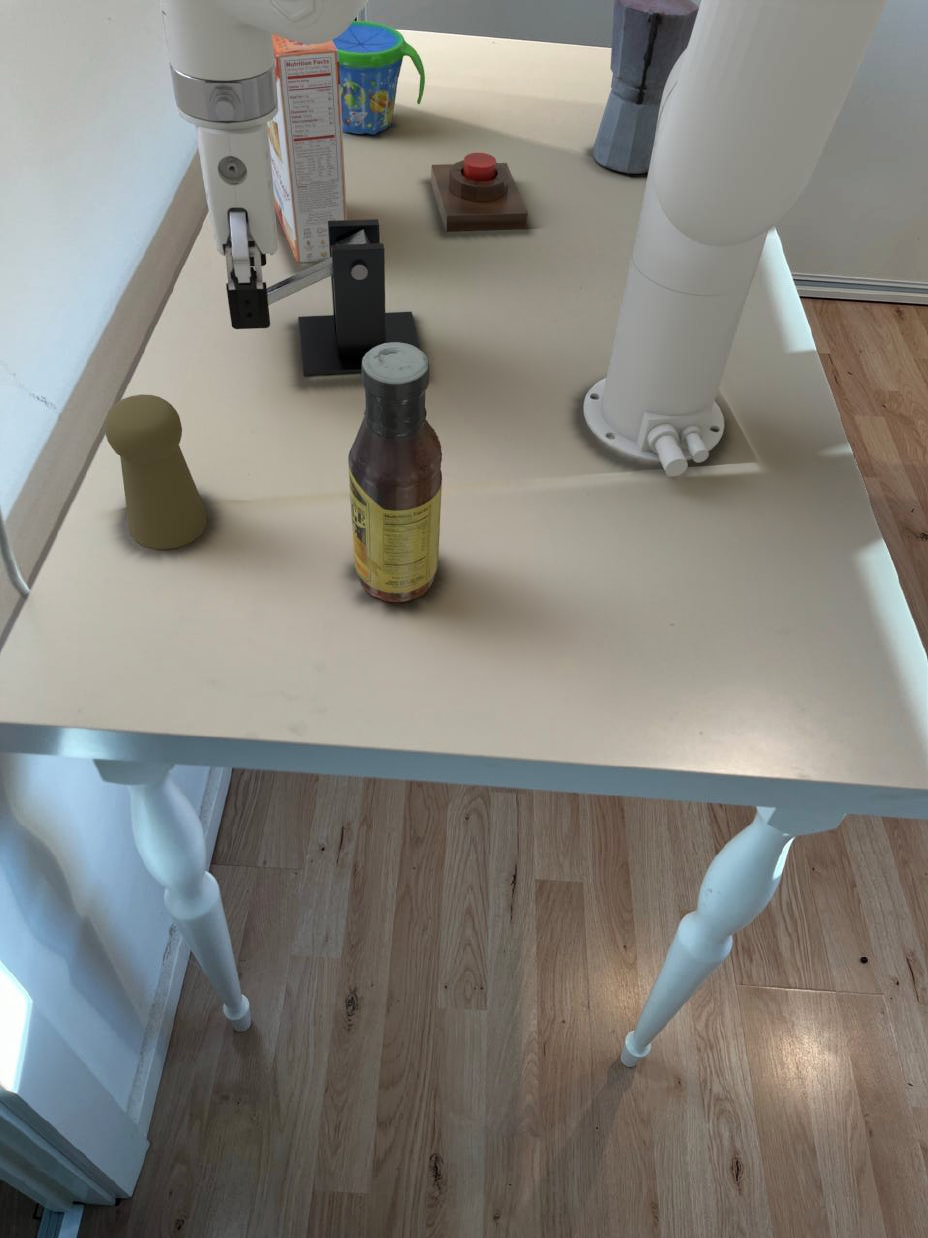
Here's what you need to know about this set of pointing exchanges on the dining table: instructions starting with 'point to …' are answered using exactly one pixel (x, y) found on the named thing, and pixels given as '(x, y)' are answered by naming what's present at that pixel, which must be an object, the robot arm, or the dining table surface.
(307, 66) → the cracker box
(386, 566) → the sauce bottle
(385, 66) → the snack cup
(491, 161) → the button
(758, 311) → the dining table surface
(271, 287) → the lever
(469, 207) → the button block
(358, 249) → the bracket
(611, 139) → the moka pot
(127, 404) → the olive pawn
